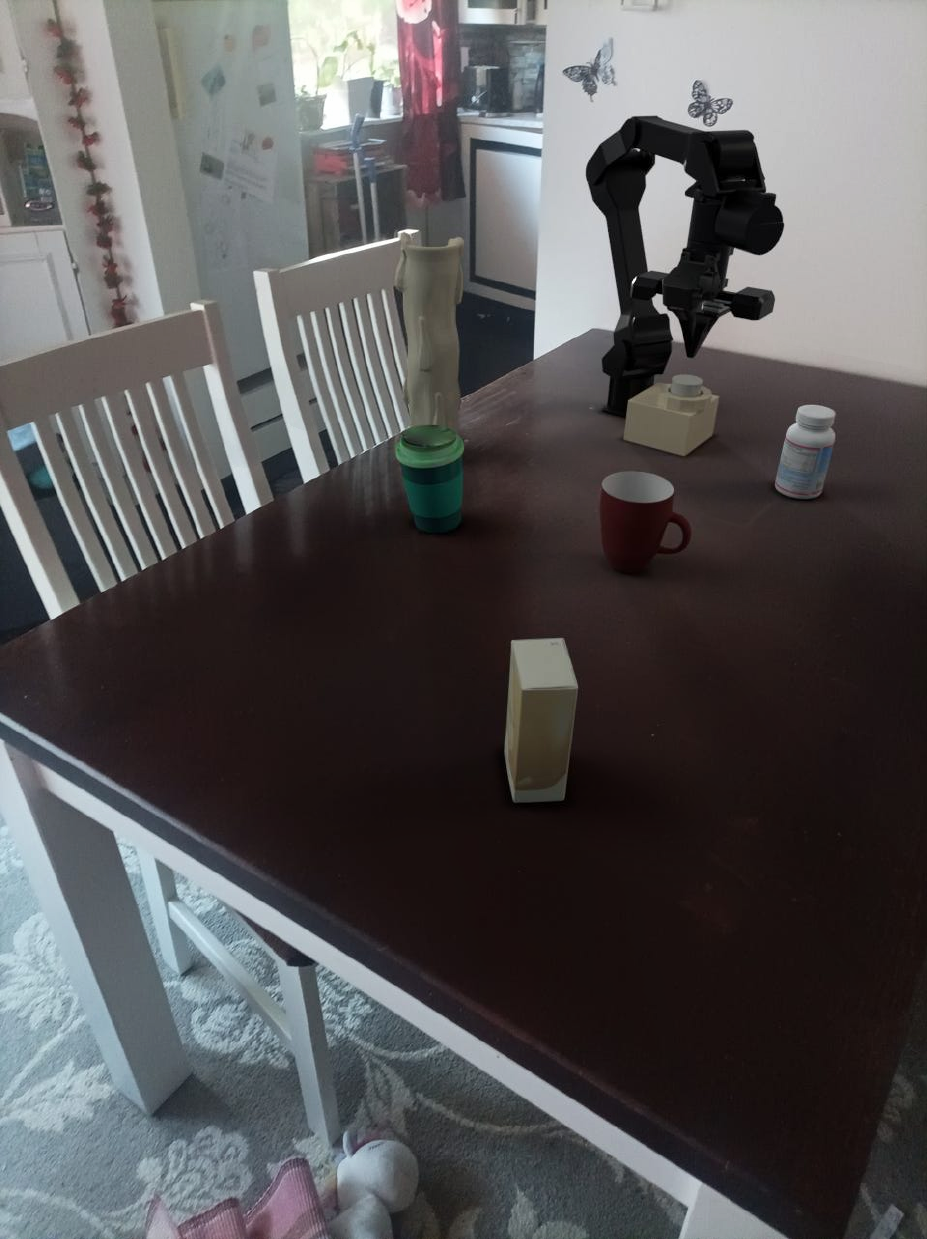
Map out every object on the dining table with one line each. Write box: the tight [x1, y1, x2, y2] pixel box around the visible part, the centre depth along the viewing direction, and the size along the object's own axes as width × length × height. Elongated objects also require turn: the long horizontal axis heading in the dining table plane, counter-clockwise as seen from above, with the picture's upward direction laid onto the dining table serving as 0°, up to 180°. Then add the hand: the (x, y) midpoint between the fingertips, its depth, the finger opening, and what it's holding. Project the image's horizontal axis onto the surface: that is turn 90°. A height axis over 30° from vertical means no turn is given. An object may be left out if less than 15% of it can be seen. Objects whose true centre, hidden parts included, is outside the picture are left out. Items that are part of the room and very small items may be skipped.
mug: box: [598, 470, 692, 574], centre depth 98 cm, size 10×8×10 cm
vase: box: [394, 231, 465, 436], centre depth 117 cm, size 9×8×30 cm
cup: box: [395, 425, 465, 535], centre depth 105 cm, size 8×8×12 cm
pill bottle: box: [774, 404, 837, 500], centre depth 114 cm, size 6×6×11 cm
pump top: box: [670, 374, 704, 398], centre depth 125 cm, size 4×4×2 cm
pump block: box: [623, 381, 720, 457], centre depth 130 cm, size 11×10×8 cm
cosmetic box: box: [504, 637, 579, 804], centre depth 69 cm, size 6×4×12 cm
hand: (690, 357), depth 123 cm, fingers closed
